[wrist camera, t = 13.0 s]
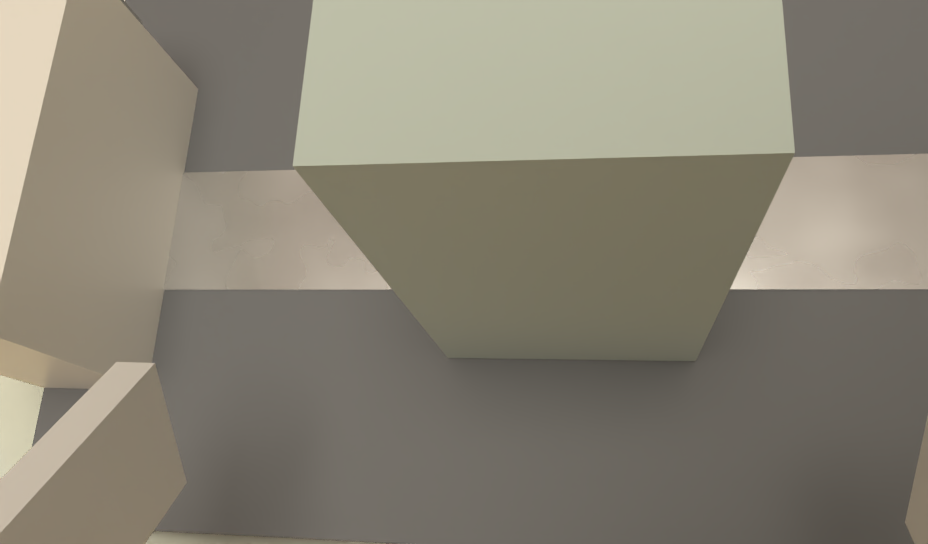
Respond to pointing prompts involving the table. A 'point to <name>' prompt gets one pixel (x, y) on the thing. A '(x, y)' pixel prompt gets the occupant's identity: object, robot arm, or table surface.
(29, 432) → the table surface
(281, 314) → the rail plate
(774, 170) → the block
